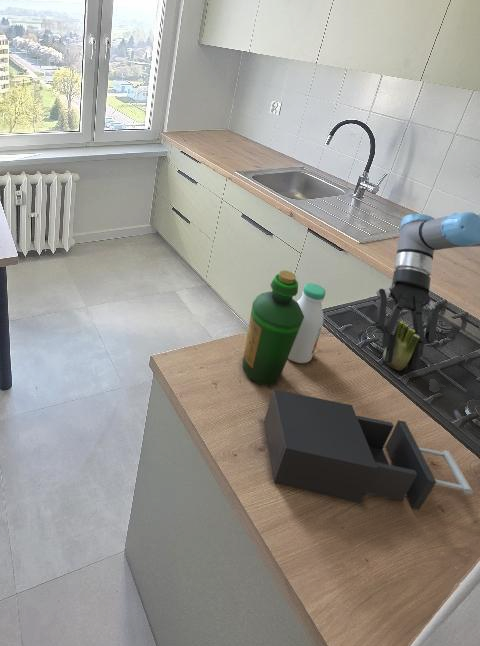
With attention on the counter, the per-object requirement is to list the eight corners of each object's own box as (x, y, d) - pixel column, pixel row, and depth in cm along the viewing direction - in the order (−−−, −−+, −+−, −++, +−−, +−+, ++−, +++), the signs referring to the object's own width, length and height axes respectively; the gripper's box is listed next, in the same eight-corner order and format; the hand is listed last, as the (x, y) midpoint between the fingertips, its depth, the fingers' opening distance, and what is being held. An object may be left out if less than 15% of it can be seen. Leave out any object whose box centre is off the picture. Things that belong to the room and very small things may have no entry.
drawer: (435, 457, 81) (450, 430, 78) (469, 522, 71) (489, 493, 68) (318, 432, 85) (329, 406, 82) (335, 490, 75) (348, 462, 71)
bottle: (254, 348, 107) (278, 255, 95) (293, 376, 99) (325, 279, 87) (228, 367, 101) (251, 270, 89) (267, 398, 93) (297, 297, 82)
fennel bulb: (406, 376, 100) (424, 338, 96) (383, 369, 102) (399, 331, 97) (401, 359, 105) (417, 322, 100) (378, 353, 107) (393, 316, 102)
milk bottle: (303, 369, 101) (325, 303, 93) (273, 351, 106) (291, 286, 98) (316, 353, 106) (338, 289, 98) (287, 337, 111) (305, 274, 103)
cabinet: (338, 437, 85) (352, 404, 81) (360, 503, 74) (377, 468, 70) (263, 421, 88) (273, 389, 84) (273, 482, 76) (285, 448, 72)
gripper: (446, 286, 106) (436, 380, 99) (369, 267, 113) (355, 353, 106) (460, 280, 99) (450, 380, 92) (377, 259, 106) (362, 351, 99)
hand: (399, 365), depth 99 cm, fingers closed on fennel bulb, 4 cm apart
